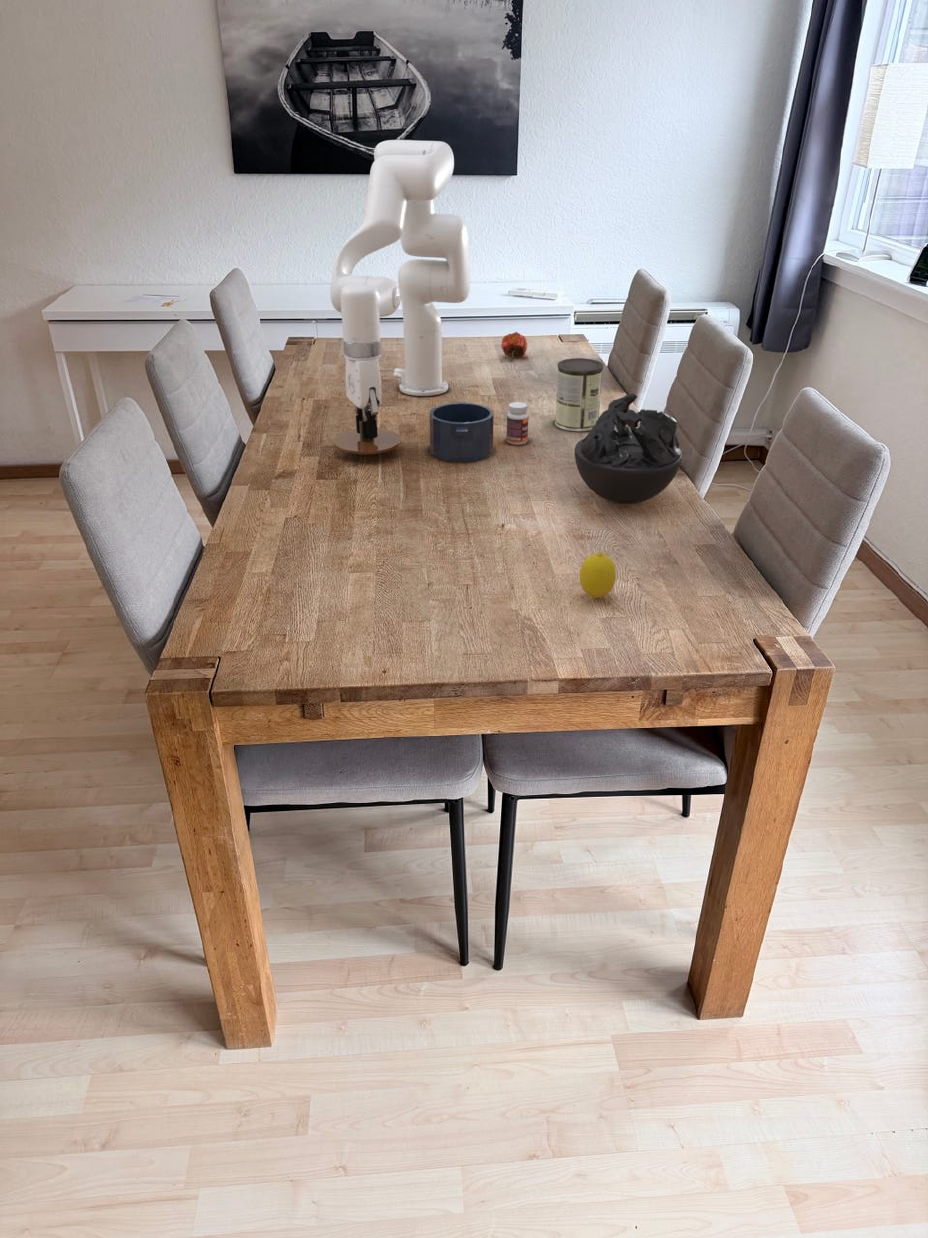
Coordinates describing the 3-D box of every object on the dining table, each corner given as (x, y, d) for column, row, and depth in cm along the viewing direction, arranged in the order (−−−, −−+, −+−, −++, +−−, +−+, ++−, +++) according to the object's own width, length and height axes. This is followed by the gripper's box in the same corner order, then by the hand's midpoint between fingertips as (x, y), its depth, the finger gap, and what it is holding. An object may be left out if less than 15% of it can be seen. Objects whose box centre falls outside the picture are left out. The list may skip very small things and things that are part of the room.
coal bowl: (652, 530, 163) (664, 430, 153) (553, 505, 172) (559, 409, 162) (690, 492, 178) (704, 399, 168) (597, 471, 187) (605, 381, 177)
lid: (329, 457, 188) (327, 432, 186) (337, 433, 201) (335, 409, 198) (399, 457, 188) (398, 432, 186) (403, 433, 201) (402, 409, 198)
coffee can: (562, 414, 217) (566, 355, 210) (604, 420, 213) (609, 360, 206) (547, 427, 209) (551, 367, 202) (590, 434, 205) (595, 372, 198)
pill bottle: (526, 445, 199) (527, 408, 195) (504, 444, 200) (505, 407, 196) (529, 438, 203) (530, 402, 199) (508, 436, 204) (509, 400, 200)
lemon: (575, 590, 145) (578, 545, 140) (609, 588, 145) (613, 544, 141) (581, 607, 140) (585, 562, 136) (617, 606, 140) (621, 560, 136)
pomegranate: (525, 368, 257) (534, 340, 261) (518, 352, 251) (527, 323, 254) (501, 368, 260) (510, 340, 264) (494, 352, 254) (503, 323, 257)
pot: (429, 467, 189) (428, 428, 184) (431, 435, 205) (430, 398, 200) (494, 467, 189) (495, 427, 184) (491, 435, 205) (491, 398, 200)
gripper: (332, 341, 189) (338, 425, 199) (357, 360, 176) (363, 450, 186) (366, 337, 192) (370, 421, 201) (393, 356, 179) (397, 445, 189)
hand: (367, 434), depth 193 cm, fingers closed on lid, 3 cm apart
